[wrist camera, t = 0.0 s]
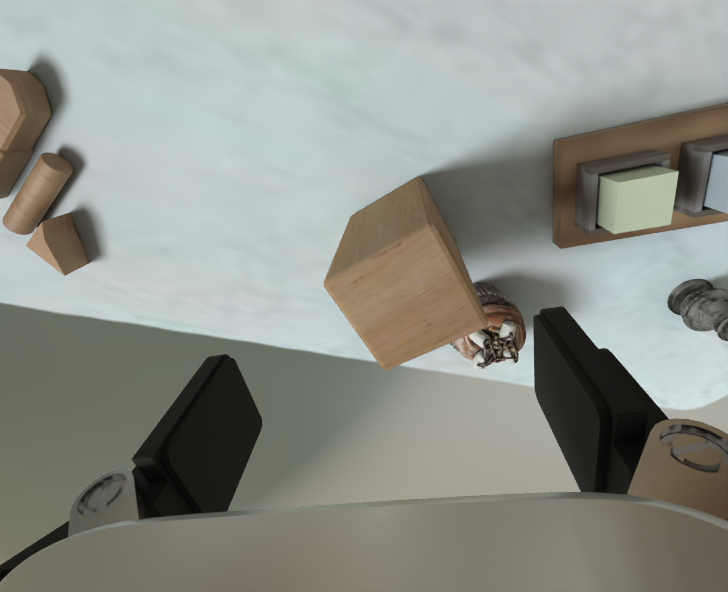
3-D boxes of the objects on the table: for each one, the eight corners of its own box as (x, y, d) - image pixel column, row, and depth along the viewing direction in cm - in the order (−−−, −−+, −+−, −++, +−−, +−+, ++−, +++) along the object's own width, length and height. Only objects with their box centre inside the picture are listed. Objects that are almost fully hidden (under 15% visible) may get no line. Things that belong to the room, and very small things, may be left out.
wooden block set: (-76, 183, 44) (-20, 62, 37) (-27, 175, 49) (30, 67, 42) (55, 283, 49) (124, 191, 42) (87, 266, 54) (153, 182, 47)
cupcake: (498, 265, 48) (521, 302, 39) (520, 323, 52) (546, 368, 43) (429, 293, 51) (437, 333, 42) (455, 346, 55) (467, 393, 46)
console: (553, 140, 41) (576, 145, 36) (880, 70, 36) (963, 64, 31) (552, 241, 46) (572, 259, 41) (837, 193, 41) (903, 206, 36)
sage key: (597, 175, 38) (618, 182, 34) (651, 164, 37) (678, 171, 33) (594, 222, 40) (614, 234, 36) (645, 213, 39) (670, 224, 36)
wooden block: (456, 244, 47) (491, 327, 30) (388, 278, 50) (383, 373, 33) (419, 174, 44) (435, 222, 26) (348, 216, 47) (319, 284, 29)
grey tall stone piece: (656, 297, 49) (728, 352, 38) (701, 268, 46) (792, 316, 36) (679, 324, 50) (755, 384, 40) (724, 297, 48) (818, 352, 37)
